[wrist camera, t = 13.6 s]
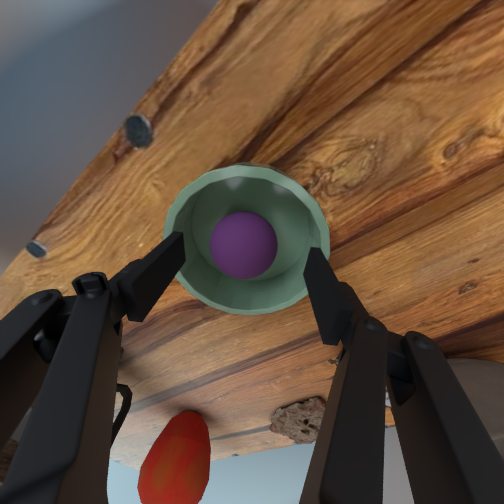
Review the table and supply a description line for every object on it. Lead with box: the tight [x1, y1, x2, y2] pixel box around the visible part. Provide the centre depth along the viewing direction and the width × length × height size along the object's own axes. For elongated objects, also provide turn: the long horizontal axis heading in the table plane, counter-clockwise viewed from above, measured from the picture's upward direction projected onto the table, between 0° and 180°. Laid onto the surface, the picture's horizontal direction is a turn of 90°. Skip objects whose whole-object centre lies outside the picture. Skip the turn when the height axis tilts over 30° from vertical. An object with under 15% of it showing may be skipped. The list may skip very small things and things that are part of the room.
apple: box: [137, 411, 211, 504], centre depth 36 cm, size 12×12×14 cm
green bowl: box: [163, 162, 330, 315], centre depth 18 cm, size 13×13×6 cm
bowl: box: [446, 358, 504, 460], centre depth 25 cm, size 17×18×10 cm
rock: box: [269, 397, 326, 444], centre depth 38 cm, size 14×13×4 cm
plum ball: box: [210, 211, 278, 279], centre depth 17 cm, size 6×6×6 cm
